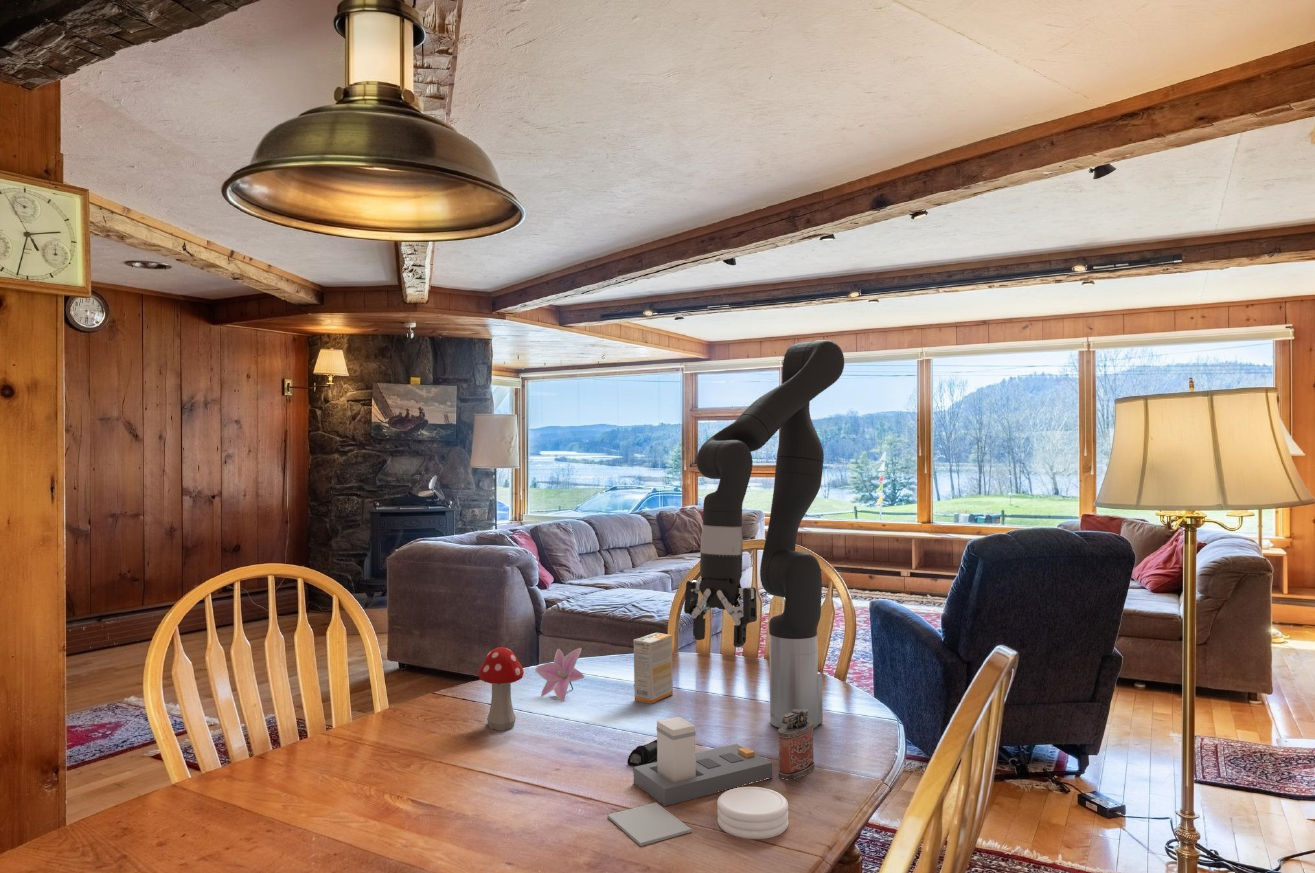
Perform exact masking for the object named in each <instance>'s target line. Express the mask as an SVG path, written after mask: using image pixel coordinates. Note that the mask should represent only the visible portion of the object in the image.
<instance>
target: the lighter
mask: <svg viewBox="0 0 1315 873" xmlns="http://www.w3.org/2000/svg"><path fill="white" fill-rule="evenodd" d="M807 717H808V710H807V709H801V710H797V709H793V710H792V712H791V713H788V714H786V715H783V717H782V724H787V725H784V726H782V727H781V728H778V729H777V736H778V749H779V750H778V756H779V757H778V758H779V759H778V761H779V765H778V766H779V769H778V774H777V775H779V777H780V778H784V779H788V780H787V781H792V780H791V779H793V780H795V779H794V778H796V779H799V778H801V776H802V777H804V776H807V775H808V774H809V772H810V771H811V772H813V771H814V770H815V769H816V762H815V761H814V729H815V728H814V722H813V721H811V720H807ZM814 768H815V769H814ZM813 769H814V770H813ZM811 772H810V773H811ZM807 773H808V774H807ZM779 777H778V778H779ZM798 777H799V778H798ZM780 778H779V779H780Z"/></svg>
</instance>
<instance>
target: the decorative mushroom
mask: <svg viewBox="0 0 1315 873" xmlns="http://www.w3.org/2000/svg"><path fill="white" fill-rule="evenodd" d="M524 673H525V672H524V667H523V666H522V664H521V663H520V661H519V659H518V658H517V655H516V654H515V653H514V652H513V651H512V650H511V649H509V648H507V647H502V646H501V647H496V648H494V649H491V650H490V651H489V652H488V654H487V655H486V656H485V659H484V661H483V662H482V664H481V666H480V667H479V670H478V677H479V680H481V681H482V682H484V683H487V684H491V701H490V707H489V713H488V715H487V719H486V720H487V723H488V727H489V728H490V729H491V730H494V729H495V730H496V731H506V730H511V729H512V728H514V726H515V722H516V719H517V718H516V714H515V711H514V709H513V707H514V706H513V703H512V689H511V688H512V687H511V686H512V685H511V684H513V683H515V682H517V681H520V680H521V679H523V676H524ZM495 730H494V731H495Z"/></svg>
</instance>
